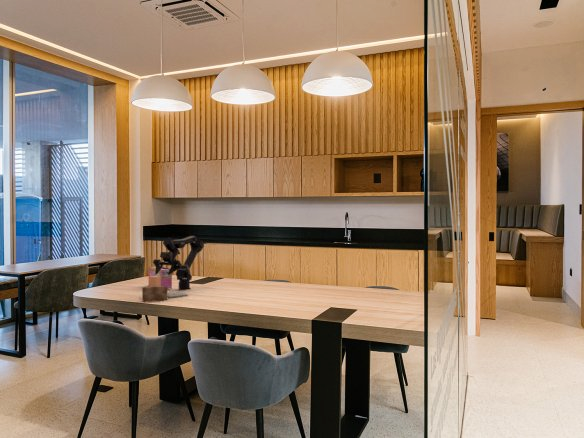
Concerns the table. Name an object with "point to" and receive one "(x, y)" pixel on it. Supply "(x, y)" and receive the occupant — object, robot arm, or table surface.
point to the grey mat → (176, 294)
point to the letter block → (154, 281)
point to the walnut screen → (154, 293)
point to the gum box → (162, 276)
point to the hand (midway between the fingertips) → (162, 274)
